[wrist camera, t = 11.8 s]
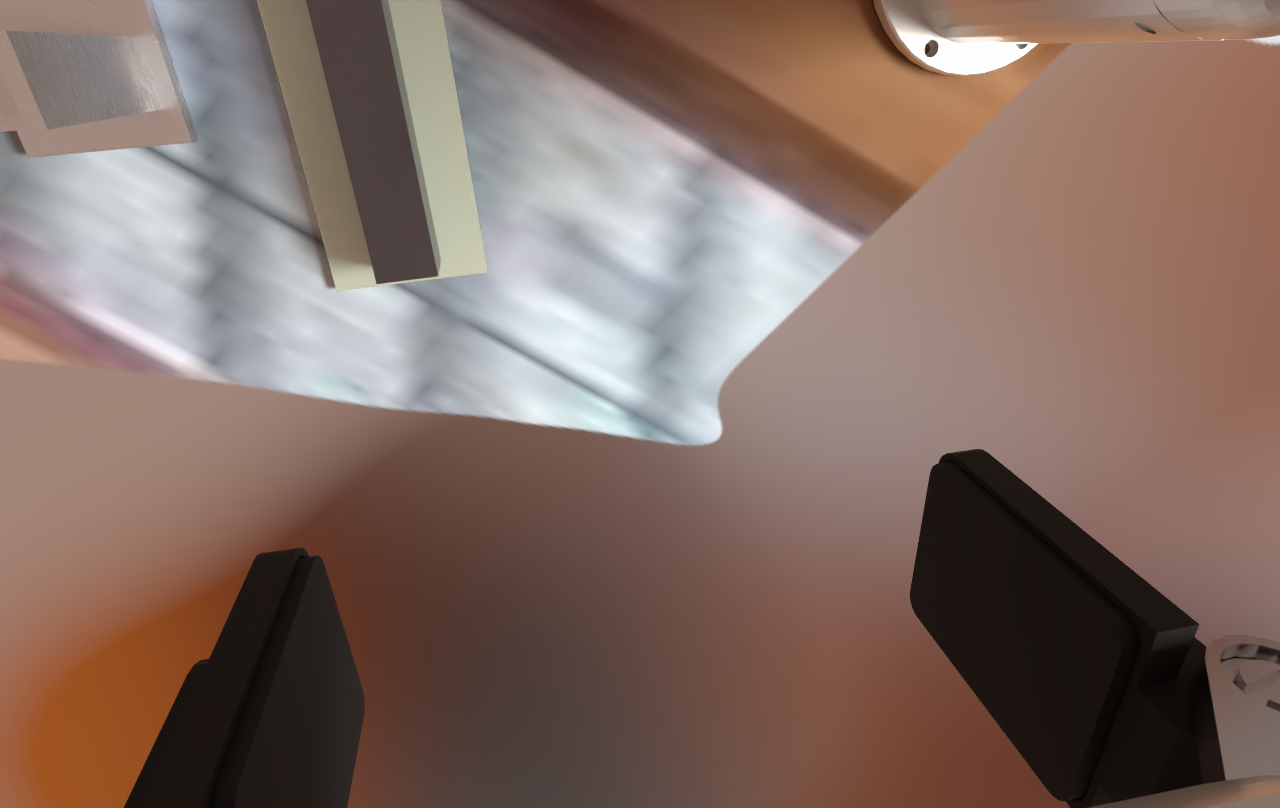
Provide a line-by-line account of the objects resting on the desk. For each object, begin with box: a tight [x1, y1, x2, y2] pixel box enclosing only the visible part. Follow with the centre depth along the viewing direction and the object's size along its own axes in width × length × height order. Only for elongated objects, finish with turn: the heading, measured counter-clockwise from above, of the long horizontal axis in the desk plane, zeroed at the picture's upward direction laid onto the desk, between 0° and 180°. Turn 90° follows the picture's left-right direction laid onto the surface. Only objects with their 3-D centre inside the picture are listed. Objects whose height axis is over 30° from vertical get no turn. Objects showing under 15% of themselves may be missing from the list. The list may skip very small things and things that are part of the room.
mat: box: [257, 0, 487, 291], centre depth 33 cm, size 8×26×1 cm, turn 4°
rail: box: [306, 0, 441, 284], centre depth 31 cm, size 3×24×3 cm, turn 4°
